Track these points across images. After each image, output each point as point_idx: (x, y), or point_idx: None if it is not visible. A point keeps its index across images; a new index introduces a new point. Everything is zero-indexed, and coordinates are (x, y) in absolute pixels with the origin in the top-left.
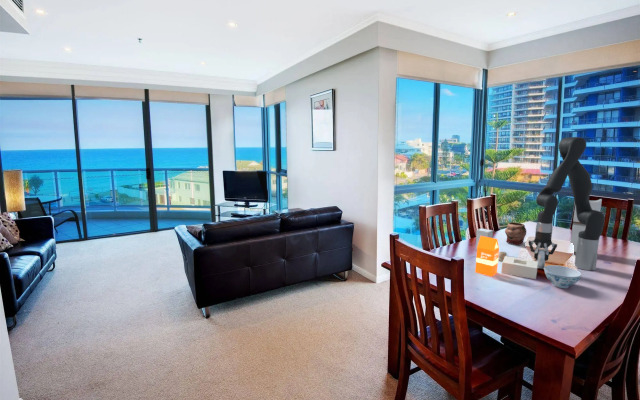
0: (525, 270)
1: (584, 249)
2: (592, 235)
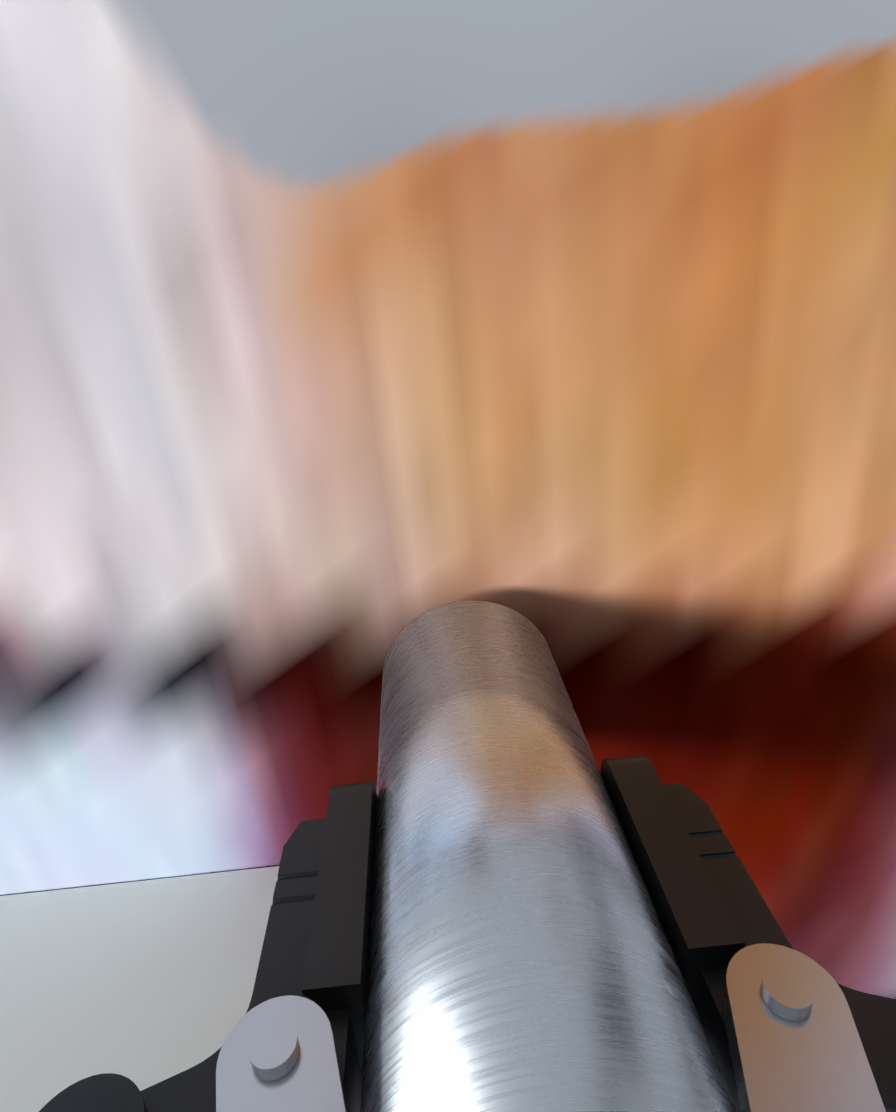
0: None
1: None
2: None
